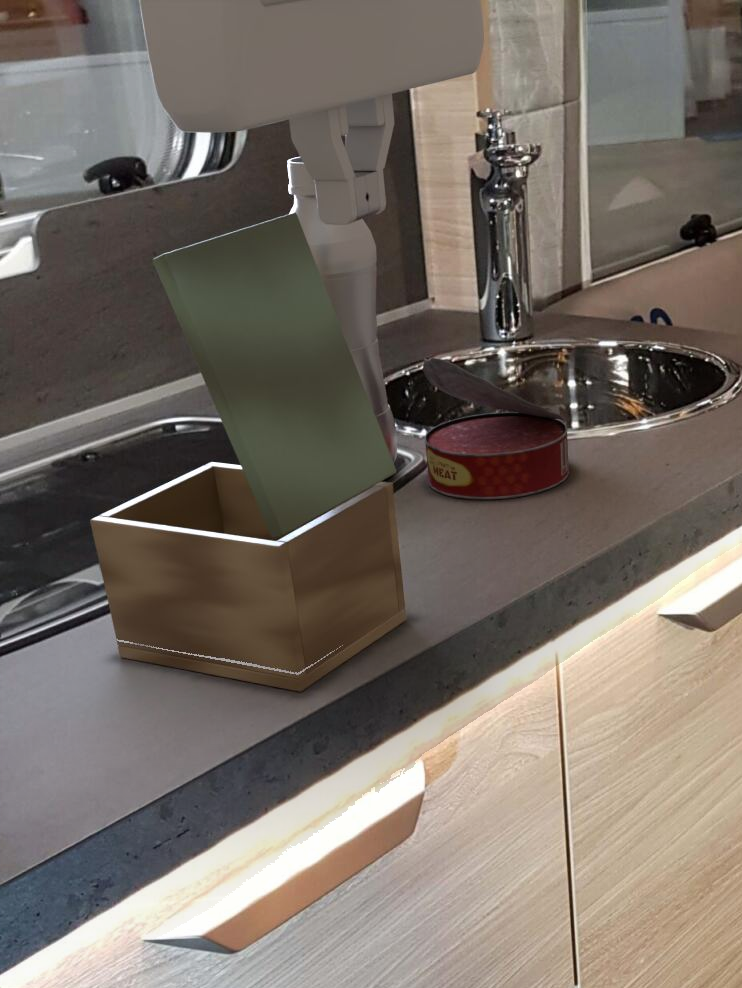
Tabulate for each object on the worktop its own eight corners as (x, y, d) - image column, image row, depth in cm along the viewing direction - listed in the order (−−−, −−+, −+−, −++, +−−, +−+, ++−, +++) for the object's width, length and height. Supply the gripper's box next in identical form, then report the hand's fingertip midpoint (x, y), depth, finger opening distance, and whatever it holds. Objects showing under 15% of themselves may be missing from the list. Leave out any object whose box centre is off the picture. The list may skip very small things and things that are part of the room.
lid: (151, 259, 70) (163, 253, 70) (285, 217, 77) (296, 211, 77) (271, 539, 76) (283, 535, 75) (386, 476, 83) (397, 472, 82)
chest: (119, 657, 86) (89, 519, 81) (233, 591, 93) (211, 461, 88) (300, 692, 80) (279, 546, 76) (407, 619, 87) (393, 482, 83)
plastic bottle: (417, 479, 108) (387, 155, 96) (329, 500, 106) (287, 170, 94) (377, 458, 113) (343, 146, 101) (292, 478, 110) (247, 160, 98)
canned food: (439, 534, 112) (413, 392, 111) (575, 506, 112) (550, 364, 110) (430, 506, 101) (400, 349, 100) (581, 476, 101) (554, 317, 99)
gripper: (385, -163, 70) (416, 179, 78) (82, -152, 56) (158, 262, 65) (505, -176, 68) (524, 180, 76) (218, -167, 54) (279, 267, 62)
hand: (353, 219), depth 70 cm, fingers closed
